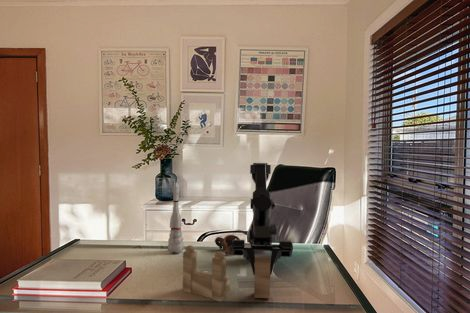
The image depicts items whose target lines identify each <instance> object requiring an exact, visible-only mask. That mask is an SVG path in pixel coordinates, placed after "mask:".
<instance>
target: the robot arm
mask: <svg viewBox="0 0 470 313" xmlns="http://www.w3.org/2000/svg"><path fill="white" fill-rule="evenodd" d="M249 168H250V171H249V173H250V174H251V179H252V181H253V183H254V185H255V188H254V189H255V190H253V192H252V198H250V206H249V207H250V210H252V213H253V214H252V215H253V217H252V224H251V226H250V227H251V228H250V229H249V232H248V233H249V236H248V237H249V240H248V241H249V242H245V239H240V240H237V239H234V240H233V241H232V253H231V254H232V256H238V257H239V256H240V257H241V256H242V257H243V258H244V259H246V260H247V262H248V264H249V266H250V269H251V271H252V275H253V276H255V250H260V251H270V252H271V253H270V255H271V258H270V276H272V273H273V271H274V267H275V265H276V263H277V260H280V259H281V257H283V258H290V257H292V254H293V251H294V246H293V245H294V244H293V242H292V241H291V240H279V242H278V244H272V243H273V237H277V234H278V230H277V228H278V227H277V224H271V214H272V210H274V208H275V207H276V205H275V202H274V201H273V198H271V192H269V190H268V189H267V188H268V187H267V181H268V180H269V178H270V177H269V176H270V175H271V174H272V172H271V169H272V166H271V164H268V162H253V164H249Z"/></svg>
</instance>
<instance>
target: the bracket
mask: <svg viewBox="0 0 470 313" xmlns="http://www.w3.org/2000/svg"><path fill="white" fill-rule="evenodd" d="M270 263H271V251H260V250H255V261H254V266H255V275H254V282H253V284H254V290H253V292H254V294H253V295H254V298H255V299H271V275H270Z"/></svg>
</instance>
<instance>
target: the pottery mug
mask: <svg viewBox="0 0 470 313" xmlns="http://www.w3.org/2000/svg"><path fill="white" fill-rule="evenodd" d="M234 239H237V240H241V239H240V237H239V236H237V235H234V234H226V235H225V236H224V237H221V236H217V237H215V240H214V243H215V245H216V246H217V247H218V248H219V250H222V249H223V250H225V251H224V255H227V256H229V255H230V254H232V241H233V240H234Z"/></svg>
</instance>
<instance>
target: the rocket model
mask: <svg viewBox="0 0 470 313" xmlns="http://www.w3.org/2000/svg"><path fill="white" fill-rule="evenodd" d="M172 194H173V198H172V199H173V202H172V203H173V207H172V213H171V216H170V221H169V228H170V230H169V231H170V232H169V234H168V235H169V238H168V242H167V243H168V244H167V251H168V252H169V253H172V254H173V253H175V254H179V253H181V252H182V251H183V250H184V248H185V245H184V244H185V243H184V237H183V232H182V226H183V225H182V223H183V222H182V216H181V213H180V207H179V201H180V200H179V194H180V185H179V184H178V182H177V181H176V182H174V185H173V187H172Z"/></svg>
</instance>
